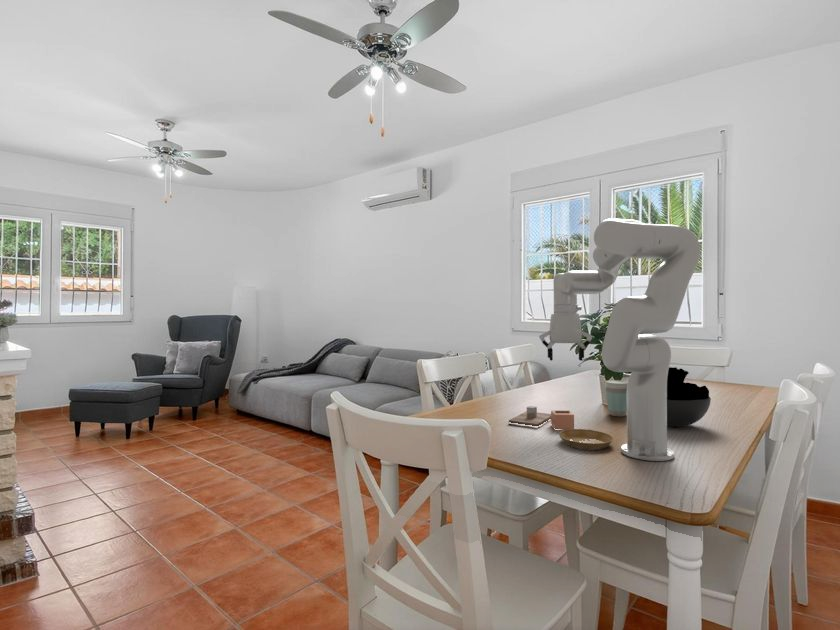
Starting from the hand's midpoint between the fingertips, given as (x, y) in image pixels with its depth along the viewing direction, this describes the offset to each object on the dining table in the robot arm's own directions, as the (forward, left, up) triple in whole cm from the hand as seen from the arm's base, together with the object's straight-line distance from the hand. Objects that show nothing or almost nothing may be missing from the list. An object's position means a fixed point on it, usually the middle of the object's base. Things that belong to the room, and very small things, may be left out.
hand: (565, 360), depth 154 cm
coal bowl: (+15, -31, -22) cm, 40 cm away
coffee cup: (+22, -12, -22) cm, 33 cm away
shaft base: (-4, +11, -21) cm, 24 cm away
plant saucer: (-21, -12, -22) cm, 33 cm away
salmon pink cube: (-7, -1, -21) cm, 23 cm away
